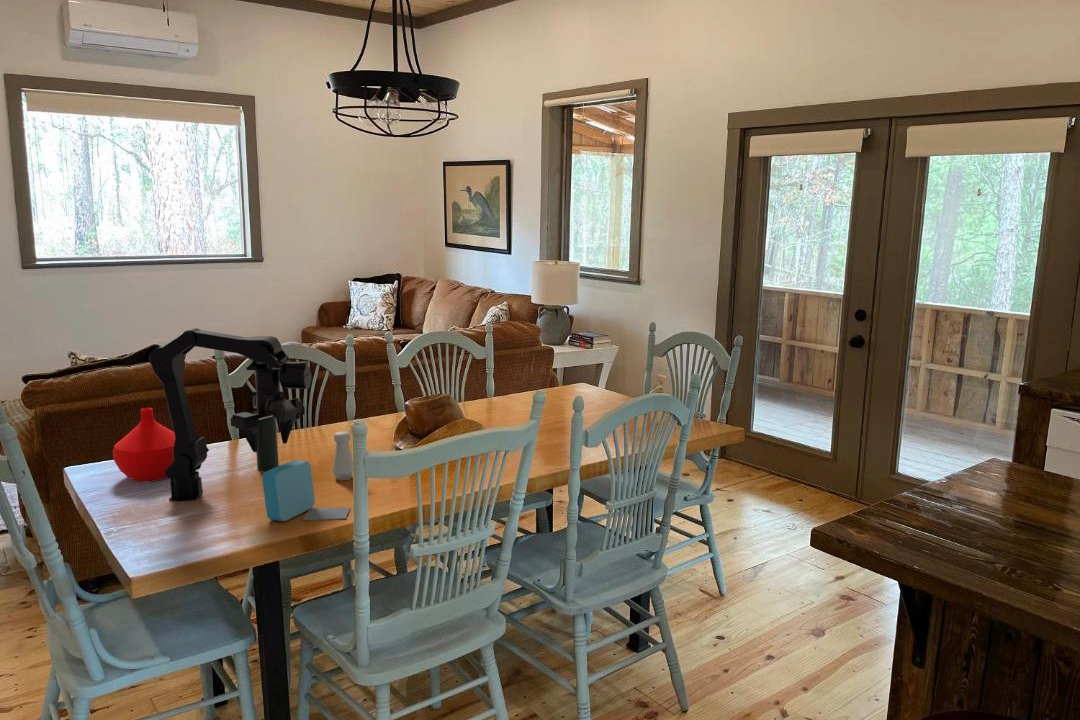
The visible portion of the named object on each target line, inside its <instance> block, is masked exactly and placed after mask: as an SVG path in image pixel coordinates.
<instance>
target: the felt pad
mask: <svg viewBox="0 0 1080 720" xmlns="http://www.w3.org/2000/svg"><path fill="white" fill-rule="evenodd" d="M350 512H351V507H321V508H320V507H319V508H317V507H315V508H314V507H312V508H311V509H309V510H307V511H306V514H305V515H304V517H303V521H333V520H334V521H335V520H336V521H338V520H339V519H346V520H347V518H348V516H347V515H349V513H350ZM339 521H340V520H339Z"/></svg>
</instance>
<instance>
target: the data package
mask: <svg viewBox="0 0 1080 720" xmlns="http://www.w3.org/2000/svg"><path fill="white" fill-rule="evenodd" d="M261 480H262V487H263V494H264V496H263V497H264V503H265V511H266V517H267V518H268V519H269V520H271V521H278V522H279V521H280V522H287V521H289V520H290V519H293V518H294V517H297V516H298V515H301V514H302V513H304V512H308V510H309V509H311V508H314V506H315V502H316V500H315V492H314V491H315V490H314V483H313V482H314V481H313V474H312V467H311V463H310V462H309V461H307V460H296V459H295V460H291V461H287V462H285V463H283V464H281V465H280V464H279V466H278V467H275V468H273V469H270V470H268V471H264V473H263V474H262V477H261Z"/></svg>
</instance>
